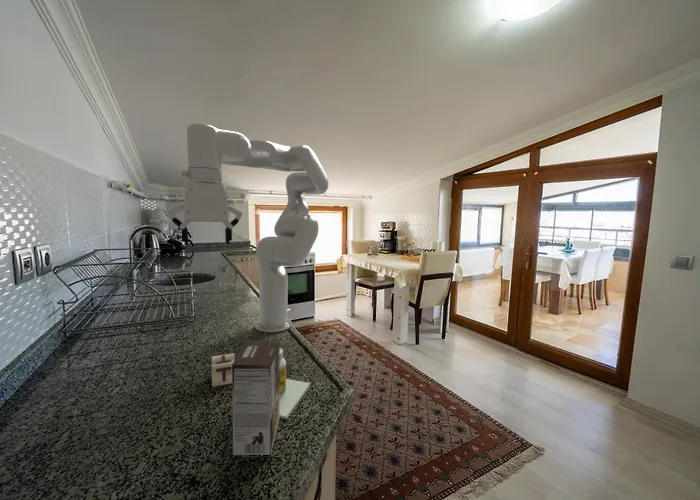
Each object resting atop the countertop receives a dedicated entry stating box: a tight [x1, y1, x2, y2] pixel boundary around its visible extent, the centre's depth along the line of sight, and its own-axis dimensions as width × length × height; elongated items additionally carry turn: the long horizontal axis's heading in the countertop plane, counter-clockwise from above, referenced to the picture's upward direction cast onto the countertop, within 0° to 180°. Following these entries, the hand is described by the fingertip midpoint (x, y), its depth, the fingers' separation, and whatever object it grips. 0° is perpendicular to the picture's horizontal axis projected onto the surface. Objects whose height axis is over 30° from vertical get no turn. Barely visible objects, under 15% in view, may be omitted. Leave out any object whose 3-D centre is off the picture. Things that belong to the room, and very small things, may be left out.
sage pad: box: [279, 378, 311, 420], centre depth 64 cm, size 12×12×1 cm
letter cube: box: [211, 353, 236, 388], centre depth 70 cm, size 5×5×5 cm
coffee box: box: [231, 339, 281, 457], centre depth 52 cm, size 9×6×16 cm
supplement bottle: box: [279, 347, 287, 398], centre depth 64 cm, size 5×5×10 cm
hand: (207, 244), depth 77 cm, fingers open, 9 cm apart
